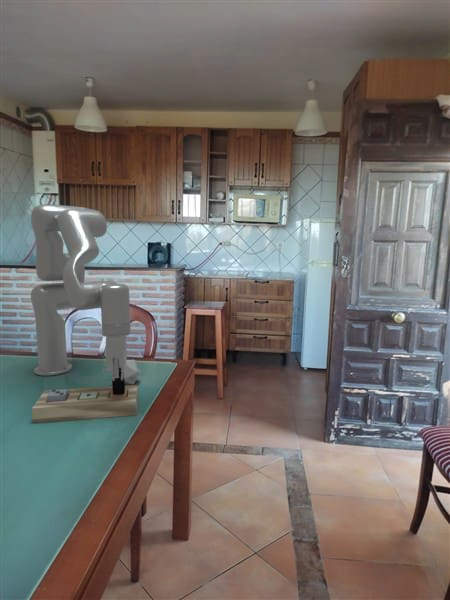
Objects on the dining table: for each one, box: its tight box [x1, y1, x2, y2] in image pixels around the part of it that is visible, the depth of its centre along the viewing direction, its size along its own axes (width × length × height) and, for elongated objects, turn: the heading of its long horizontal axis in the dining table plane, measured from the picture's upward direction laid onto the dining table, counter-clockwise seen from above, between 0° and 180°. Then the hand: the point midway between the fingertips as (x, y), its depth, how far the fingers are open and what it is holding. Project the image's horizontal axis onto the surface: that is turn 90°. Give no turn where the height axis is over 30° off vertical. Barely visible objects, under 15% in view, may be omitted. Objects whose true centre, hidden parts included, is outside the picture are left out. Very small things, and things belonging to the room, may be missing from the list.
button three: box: [47, 388, 69, 402], centre depth 104 cm, size 4×4×3 cm
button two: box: [110, 390, 127, 398], centre depth 108 cm, size 4×4×3 cm
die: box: [124, 359, 141, 386], centre depth 126 cm, size 8×9×10 cm
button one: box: [79, 392, 98, 400], centre depth 106 cm, size 4×4×3 cm
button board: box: [31, 384, 139, 424], centre depth 106 cm, size 12×26×4 cm, turn 101°
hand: (118, 392), depth 107 cm, fingers closed
